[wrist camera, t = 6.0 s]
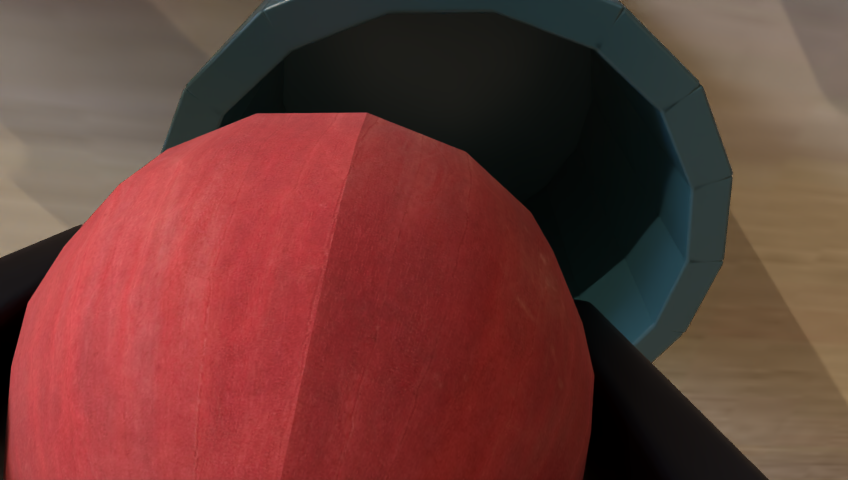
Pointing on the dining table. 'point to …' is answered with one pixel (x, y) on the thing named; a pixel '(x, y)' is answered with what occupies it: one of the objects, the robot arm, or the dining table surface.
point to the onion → (303, 320)
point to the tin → (515, 126)
